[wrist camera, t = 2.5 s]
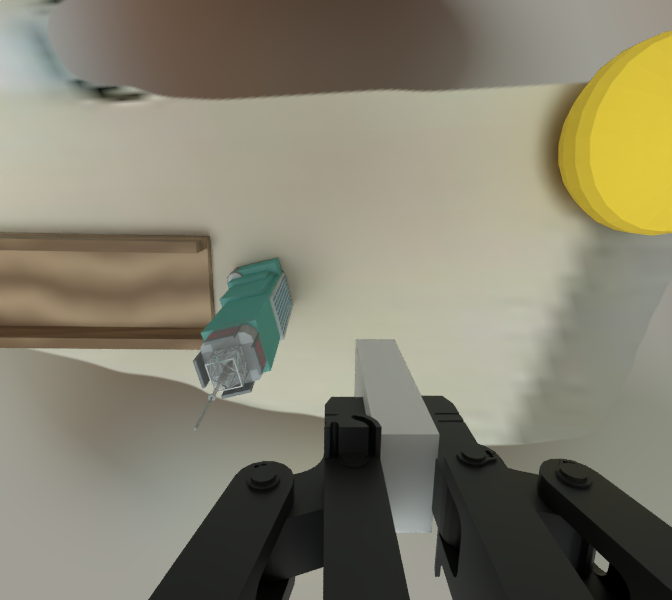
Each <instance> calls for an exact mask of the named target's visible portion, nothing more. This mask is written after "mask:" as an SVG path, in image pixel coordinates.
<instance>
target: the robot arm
mask: <svg viewBox="0 0 672 600" xmlns="http://www.w3.org/2000/svg"><path fill="white" fill-rule="evenodd" d="M433 515H434V518H435V521H436V524H437V527H438V534H437V546H436V557H435V577H439V576H440V567H441V565H442V567H443V570H444V573H445V576H446V579H447V583H448V586H449V589H450V592H451V596H452V599H453V600H672V527H671V526H669V525H668V524H666V523H665V522H664V521H662V520H661V519H660V518H658V517H657V516H656V515H654V514H653V513H652V512H650V511H649V510H648V509H646V508H645V507H643V506H642V505H641V504H639V503H638V502H637V501H635V500H634V499H633V498H631V497H630V496H629V495H627V494H626V493H624V492H623V491H622V490H620V489H619V488H618V487H616V486H615V485H614V484H612V483H611V482H610V481H608V480H607V479H605V478H604V477H603V476H602V475H600V474H599V473H597V472H596V471H594V470H592V469H591V468H589V467H587V466H585V465H583V464H580V463H577V462H576V461H572V460H567V459H550V460H547V461H544V462H543V463H542V465H541V466H540V470H539V475H537V474H532V473H527V472H522V471H517V470H513V469H509V468H507V466H506V465H505V464H504V462H503V461H502V459H501V458H500V457H499V456H498V455H497V454H496V452H495V451H493V450H491V449H489V448H487V447H486V446H483V445H480V444H478V443H477V442H476V440H475V438H474V437H473V435H472V434H471V432H470V430H469V429H468V427H467V425H466V424H465V422H463V419H462V417H461V416H460V415H459V412H458V411H457V409H456V407H455V406H454V404H453V403H452V402H450V401H449V400H447V399H446V398H444V397H443V396H421V394H420V392H419V390H418V388H417V386H416V384H415V382H414V380H413V378H412V375H411V373H410V371H409V369H408V367H407V365H406V363H405V361H404V359H403V356H402V354H401V352H400V350H399V348H398V346H397V344H396V342H395V340H372V339H356V353H355V394H354V397H331V398H330V399H329V401H328V402H327V403H326V404H325V427H324V457H323V459H322V460H321V462H320V463H319V464H318V465H317V466H315V467H313V468H312V469H310V470H308V471H305V472H302V473H298V474H293V473H292V471H291V469H289V468H288V467H287V466H286V465H284V464H281V463H278V462H274V461H262V462H258V463H253V464H251V465H249V466H247V467H245V468H243V469H241V470H240V471H239V472H238V474H236V475H235V477H234V478H233V479H232V481H231V482H230V484H229V485H228V487H227V488H226V490H225V491H224V492H223V494H222V495H221V497H220V498H219V499H218V501H217V502H216V504H215V505H214V507H213V508H212V510H211V511H210V512H209V514H208V515H207V517H206V518H205V519H204V521H203V522H202V524H201V525H200V527H199V528H198V529H197V531H196V532H195V534H194V535H193V537H192V538H191V539H190V541H189V542H188V544H187V545H186V547H185V548H184V549H183V551H182V552H181V554H180V555H179V557H178V558H177V559H176V561H175V562H174V564H173V565H172V567H171V568H170V569H169V571H168V572H167V574H166V575H165V577H164V578H163V579H162V581H161V582H160V584H159V585H158V587H157V588H156V589H155V591H154V592H153V594H152V595H151V597H150V598H149V599H148V600H289V597H290V595H291V592H292V589H293V586H294V582H295V576H297V575H300V574H303V573H306V572H309V571H312V570H315V569H318V568H322V567H324V571H323V575H324V576H323V578H324V579H323V600H410V598H409V594H408V589H407V584H406V579H405V574H404V569H403V564H402V560H401V555H400V550H399V545H398V541H397V536H396V533H414V532H415V533H418V532H419V533H421V532H422V533H423V532H425V533H427V532H432V521H433ZM596 550H597V551H598V552H599V553H600V554H601V555H602V556H603V557H604V558H605V559H606V560H607V561H608V562H609V568H608V571H607V573H606V572H604V571H603V570H601V569H600V568H599V567H598V566H597V565H596V564H595V563H594V559H595V554H596Z"/></svg>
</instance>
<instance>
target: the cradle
mask: <svg viewBox="0 0 672 600" xmlns="http://www.w3.org/2000/svg"><path fill="white" fill-rule="evenodd" d="M214 317H215V315H214V297H213V280H212V262H211V245H210V236H164V235H110V234H55V233H1V232H0V348H76V349H188V350H201V348H200V347H201V346H202V344H203V342H204V340H203V337H202V334H201V332H202V331H203V330H204V328H205V327H206V326H207V325H208V324H209V323H210V321H211V320H212V319H213V318H214Z"/></svg>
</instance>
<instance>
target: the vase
mask: <svg viewBox="0 0 672 600" xmlns="http://www.w3.org/2000/svg"><path fill="white" fill-rule="evenodd" d="M558 165H559V168H560V172H561V176H562V180H563V183H564V185H565V187H566V188H567V190H568V192H569V193H570V195H571V197H572V198H573V200H574V201H575V202H576V203H577V204H578V205H579V206H580V208H582V209H583V210H584V211H585V212H586V213H587V214H588V215H589V216H590V217H592V218H593V219H594V220H595V221H596V222H598V223H601V224H603V225H605V226H607V227H609V228H612V229H614V230H618V231H623V232H629V233H637V234H644V235H659V234H666V233H672V31H668V32H664V33H662V34H659V35H657V36H655V37H653V38H650V39H648V40H645V41H643V42H641V43H639V44H637V45H635V46H633V47H631V48H629V49H627V50H625V51H623V52H621V53H620V54H619V55H617V56H616V57H615V58H613V59H612V60H611V61H610V62H608V63H607V64H606V65H604V66H603V67H602V68H601V69H600V70H599V71H598V72H597V73H596V75H595V76H594V77H593V78H592V79H591V81H590V82H589V83H588V84H587V85H586V87H585V88H584V89H583V90H582V92H581V93H580V95H579V96H578V98H577V99H576V101H575V102H574V104H573V106H572V108H571V110H570V112H569V114H568V116H567V118H566V120H565V122H564V124H563V128H562V132H561V136H560V140H559V153H558Z"/></svg>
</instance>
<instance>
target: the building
mask: <svg viewBox="0 0 672 600" xmlns="http://www.w3.org/2000/svg"><path fill="white" fill-rule="evenodd" d="M227 278H228V287H229V290H228V291H227V292H226V293H225V295H224V296H223V297H222V298H221V299H220V302H221V305H222V309H221V310H220V311H219V312H218V313H217V314H216V316H215V317H214V318H213V319H212V320H211V321H210V323H209V324H208V325H207V326H206V327H205V328H204V330H203V331H202V332H201V334H202V337H203V340H204V342H203V344H202V346H201V347H200V348H201V352H200V353H199V354H198V355H197V356H196V358H195V359H194V360H193V363H194V366H195V369H196V372H197V374H198V377H199V380H200V383H201V386H202V388H205V387H206V385H207V384H208V382H209V381H210V382H211V385H212V387H213V390H214V391H213V393H212V394H210V395H209V396H208V398H209V401H208V403H207V405H206V407H205V409H204V411H203V413H202V415H201V416H200V418H199V420H198V422H197V424H196V426H195V428H194V430H197V428H198V426H199V424H200V422H201V420H202V418H203V416H204V414H205V413H206V411H207V409H208V407H209V405H210V403H211V401H214V400H215V399H216V396H215V395H216V393H217V392H221V391H224V392H223V394H222V399H223V398H227V397H232V396H236V395H241V394H245V393H249V392H251V391H252V388H253V385H254V382H255V381H256V380H259V379H260V378H261V375H262V374H263V372H267V371H271V368H272V364H273V361H274V357H275V354H276V351H277V347H278V344H279V340H283V339H284V338H285V334H286V330H287V326H288V322H289V318H290V315H291V311H292V307H293V303H292V300H291V296H290V292H289V288H288V285H287V282H286V278H285V274H284V272H282V270H281V268H280V264H279V260H278V258H275V259H271V260H267V261H263V262H259V263H255V264H251V265H246V266H242V267H237V268H236V269H235V270H234V271H233V272H232V273H231V274H230V275H229V276H228V277H227ZM214 386H216V388H214ZM219 388H220V389H221V388H225V389H224V390H220V391H218V389H219Z"/></svg>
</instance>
